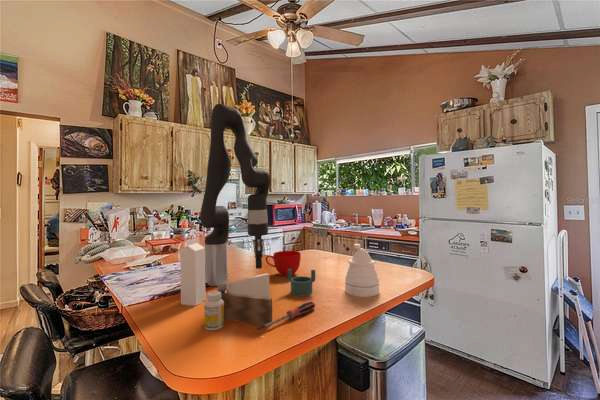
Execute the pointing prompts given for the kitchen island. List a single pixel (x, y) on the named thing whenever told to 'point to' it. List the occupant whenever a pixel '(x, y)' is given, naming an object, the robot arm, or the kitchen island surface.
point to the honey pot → (361, 275)
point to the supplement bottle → (214, 311)
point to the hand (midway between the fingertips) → (258, 268)
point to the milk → (192, 273)
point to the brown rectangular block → (247, 308)
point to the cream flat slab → (248, 286)
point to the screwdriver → (292, 313)
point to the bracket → (301, 284)
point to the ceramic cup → (285, 261)
